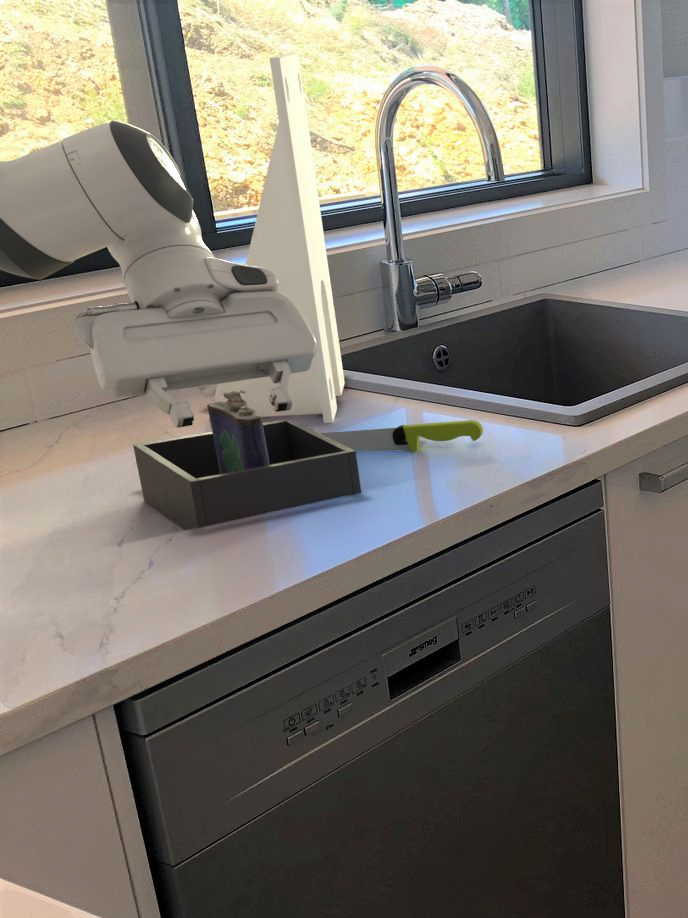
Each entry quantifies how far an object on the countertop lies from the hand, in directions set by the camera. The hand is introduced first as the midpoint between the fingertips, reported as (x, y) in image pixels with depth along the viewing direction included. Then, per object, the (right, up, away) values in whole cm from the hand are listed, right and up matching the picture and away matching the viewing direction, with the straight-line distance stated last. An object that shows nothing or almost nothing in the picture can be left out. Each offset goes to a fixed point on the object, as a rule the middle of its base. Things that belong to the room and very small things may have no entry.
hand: (236, 415), depth 134 cm
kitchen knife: (+7, -1, +21) cm, 22 cm away
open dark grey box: (0, -8, +3) cm, 9 cm away
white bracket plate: (-12, +7, +38) cm, 40 cm away
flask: (0, -8, +3) cm, 8 cm away
